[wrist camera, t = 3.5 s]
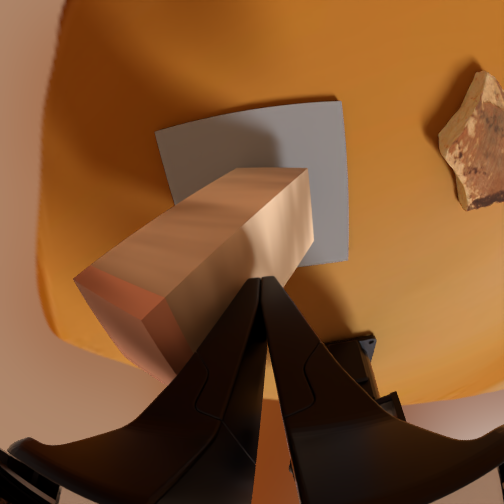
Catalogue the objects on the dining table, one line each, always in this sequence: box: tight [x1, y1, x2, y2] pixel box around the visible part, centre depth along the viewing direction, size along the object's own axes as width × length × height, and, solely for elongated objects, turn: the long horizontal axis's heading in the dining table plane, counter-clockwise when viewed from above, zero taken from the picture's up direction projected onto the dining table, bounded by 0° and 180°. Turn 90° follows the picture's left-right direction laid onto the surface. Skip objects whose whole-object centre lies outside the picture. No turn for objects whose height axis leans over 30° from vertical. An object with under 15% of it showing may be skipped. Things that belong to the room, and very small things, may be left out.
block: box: [73, 167, 314, 386], centre depth 11 cm, size 4×4×10 cm
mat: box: [155, 101, 349, 267], centre depth 15 cm, size 10×10×1 cm
